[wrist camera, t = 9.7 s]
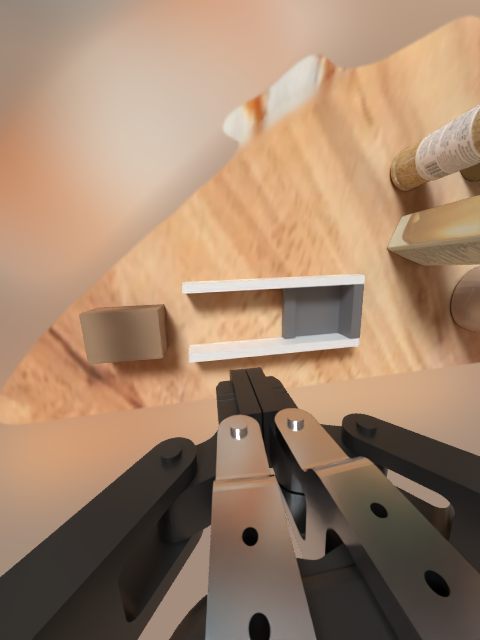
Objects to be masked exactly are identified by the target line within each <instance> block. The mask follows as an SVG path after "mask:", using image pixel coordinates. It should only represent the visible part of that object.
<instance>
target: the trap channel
mask: <svg viewBox="0 0 480 640" xmlns="http://www.w3.org/2000/svg"><path fill="white" fill-rule="evenodd" d="M364 279H365V275H356V274H344V275H322V276H301V277H280V278H259V279H238V280H217V281H196V282H184V283H182V290H183V294H186V293H204V292H222V291H240V290H259V289H277V288H282V337H277V338H266V339H254V340H243V341H232V342H220V343H209V344H197V345H190V349H189V363H193V362H203V361H213V360H223V359H233V358H243V357H253V356H263V355H274V354H284V353H294V352H304V351H314V350H324V349H334V348H344V347H355V346H359V339H360V327H361V315H362V303H363V291H364Z"/></svg>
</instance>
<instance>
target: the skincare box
mask: <svg viewBox="0 0 480 640" xmlns="http://www.w3.org/2000/svg"><path fill="white" fill-rule="evenodd" d="M388 250H390V251H392V252H394V253H396V254H398V255H400V256H402V257H404V258H407V259H409V260H411V261H413V262H416V263H418V264H421V265H423V266H427V265H471V264H480V195H478V196H474V197H471V198H467V199H463V200H460V201H456V202H452V203H449V204H445V205H442V206H438V207H434V208H431V209H427V210H424V211H420V212H416V213H412V214H409V215H405V216H402V218H401V220H400V222H399V224H398V226H397V228H396V230H395V232H394V234H393V236H392V239H391V241H390V243H389V245H388Z"/></svg>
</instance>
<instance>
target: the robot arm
mask: <svg viewBox="0 0 480 640" xmlns="http://www.w3.org/2000/svg"><path fill="white" fill-rule="evenodd" d="M451 311H452V315H453V318H454V320H455V322H456V323H457V324H458V325H459V326H460V327H462V328H464V329H468V330H472V331H477V332H480V267H477V268H475V269H473V270H471V271H470V272H468V273H467V274H466V275H465V276H464V277H463V278H462V279H461V280H460V282H459V283H458V285H457V287H456V289H455V291H454V293H453V297H452V302H451ZM216 394H217V408H218V421H219V426H218V430H217V432H216V433H215V435H214V436H213V437H212V438H210V439H209V440H207V441H205V442H203V443H201V444H199V445H196V446H195V445H194V443H193V442H192V441H191V440H189V439H186V438H181V437H178V438H171V439H168V440H165V441H163V442H161V443H160V444H158V445H157V446H155V447H154V448H153V449H152V450H151V451H149V452H148V453H147V454H146V455H145V456H143V457H142V458H141V459H140V460H139V461H137V462H136V463H135V464H134V465H133V466H132V467H130V468H129V469H128V470H127V471H126V472H125V473H123V474H122V475H121V476H120V477H118V478H117V479H116V480H115V481H114V482H113V483H111V484H110V485H109V486H108V487H107V488H105V489H104V490H103V491H102V492H101V493H100V494H98V495H97V496H96V497H95V498H94V499H92V500H91V501H90V502H89V503H88V504H87V505H85V506H84V507H83V508H82V509H81V510H79V511H78V512H77V513H76V514H75V515H74V516H72V517H71V518H70V519H69V520H68V521H66V522H65V523H64V524H63V525H62V526H60V527H59V528H58V529H57V530H56V531H55V532H53V533H52V534H51V535H50V536H49V537H48V538H46V539H45V540H44V541H43V542H42V543H40V544H39V545H38V546H37V547H36V548H34V549H33V550H32V551H31V552H30V553H29V554H27V555H26V556H25V557H24V558H23V559H21V560H20V561H19V562H18V563H17V564H16V565H14V566H13V567H12V568H11V569H10V570H9V571H7V572H6V573H5V574H4V575H2V576H1V577H0V640H137V639H138V638H139V636H140V635H141V633H142V631H143V630H144V628H145V626H146V625H147V623H148V622H149V620H150V619H151V617H152V615H153V614H154V612H155V611H156V609H157V607H158V606H159V604H160V602H161V601H162V599H163V598H164V596H165V595H166V593H167V591H168V590H169V588H170V587H171V585H172V583H173V582H174V580H175V578H176V577H177V575H178V574H179V572H180V571H181V569H182V567H183V566H184V564H185V563H186V561H187V559H188V558H189V556H190V555H191V553H192V551H193V550H194V548H195V547H196V545H197V543H198V542H199V540H200V538H201V535H202V533H203V529H205V528H206V527H208V526H210V525H211V535H210V555H209V556H210V557H209V575H208V594H207V595H206V596H205V597H203V598H202V599H201V600H200V601H199V602H198V603H197V604H196V605H195V606H194V607H193V608H192V609H191V610H190V611H189V612H188V614H187V615H186V616H185V618H184V619H183V620H182V622H181V623H180V624H179V625H178V627H177V628H176V630H175V632H174V633H173V635H172V636H171V638H170V639H169V640H480V456H477V455H475V454H472V453H469V452H466V451H464V450H461V449H458V448H456V447H453V446H450V445H448V444H445V443H442V442H439V441H437V440H434V439H431V438H429V437H426V436H423V435H420V434H418V433H415V432H412V431H410V430H407V429H404V428H402V427H399V426H396V425H393V424H391V423H388V422H385V421H383V420H380V419H377V418H375V417H372V416H369V415H365V414H350V415H347V416H345V417H344V418H343V421H342V426H331V425H323V424H319V423H318V421H317V420H316V419H315V418H314V417H313V416H312V415H311V414H310V413H308V412H306V411H304V410H301V409H298V407H297V406H296V404H295V403H294V402H293V400H292V398H291V397H290V395H289V394H288V393H287V391H286V389H285V388H284V386H283V385H282V383H281V382H280V381H279V380H278V379H276V378H275V377H273V376H268V377H266V376H265V375H264V373H263V371H262V369H261V368H260V367H258V368H249V369H239V370H230V381H223V382H220V383H219V384H218V386H217V387H216ZM269 468H273V469H274V472H275V475H271V474H270V470H269ZM388 469H390V470H392V471H394V472H396V473H398V474H400V475H402V476H404V477H406V478H408V479H410V480H412V481H414V482H417V483H418V484H420V485H422V486H424V487H427V488H429V489H431V490H433V491H435V492H437V493H439V494H440V495H442V496H443V497H445V498H446V499H447V500H448V501H449V502H450V505H449V506H448V507H447V508H438V507H435V506H433V505H431V504H429V503H427V502H425V501H423V500H421V499H419V498H417V497H415V496H413V495H412V494H410V493H408V492H406V491H404V490H402V489H400V488H398V487H396V486H394V485H393V484H392V482H391V481H390V480H389V479H388V478H387V470H388ZM284 511H285V512H284ZM285 513H286V516H287V518H288V521H289V523H290V526H291V528H292V531H293V533H294V536H295V538H296V541H297V543H298V546H299V548H300V551H301V554H302V558H303V559H300V558H296V556H295V552H294V548H293V544H292V540H291V536H290V532H289V528H288V524H287V520H286V516H285Z"/></svg>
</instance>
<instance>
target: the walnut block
mask: <svg viewBox="0 0 480 640" xmlns="http://www.w3.org/2000/svg"><path fill="white" fill-rule="evenodd" d="M79 317H80V322H81V327H82V333H83V338H84V343H85V348H86V354H87V359H88V364H101V363H112V362H124V361H136V360H148V359H159V358H163V357H164V354H165V352H166V350H167V348H168V338H167V329H166V319H165V310H164V304H163V305H143V306H123V307H104V308H96V309H93V310H90V311H87V312H84V313H82V314H79Z"/></svg>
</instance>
